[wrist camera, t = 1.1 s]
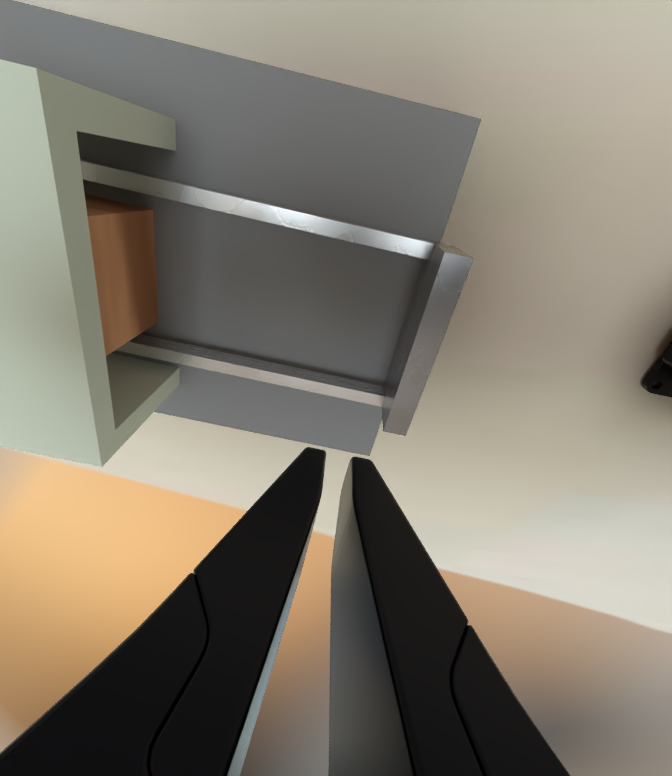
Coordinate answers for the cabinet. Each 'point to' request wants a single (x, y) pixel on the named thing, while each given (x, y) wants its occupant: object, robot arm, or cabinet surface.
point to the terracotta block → (123, 268)
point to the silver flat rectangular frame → (437, 273)
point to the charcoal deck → (258, 238)
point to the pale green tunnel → (62, 275)
